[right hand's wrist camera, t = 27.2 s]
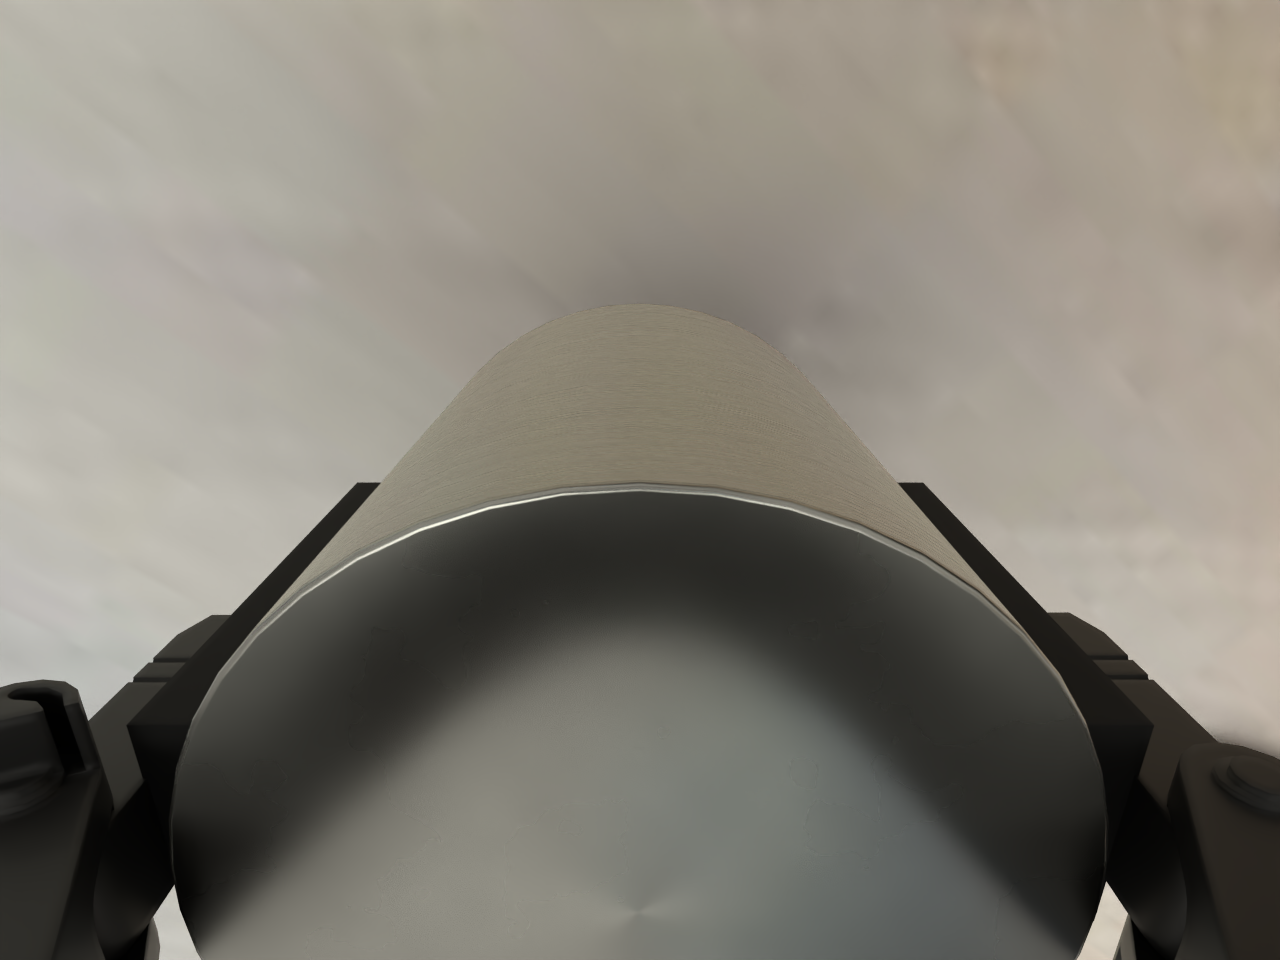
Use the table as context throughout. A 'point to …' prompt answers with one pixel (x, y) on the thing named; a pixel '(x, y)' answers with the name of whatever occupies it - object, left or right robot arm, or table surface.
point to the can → (638, 695)
